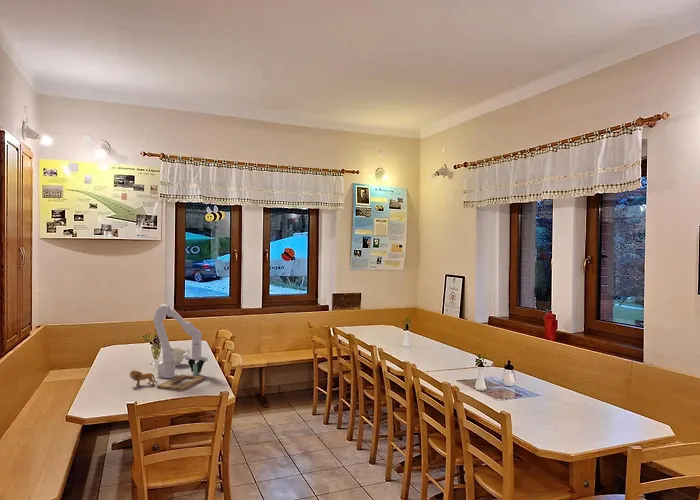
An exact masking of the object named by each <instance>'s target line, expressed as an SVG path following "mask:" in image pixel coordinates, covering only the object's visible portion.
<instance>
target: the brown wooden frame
mask: <svg viewBox="0 0 700 500" xmlns="http://www.w3.org/2000/svg"><path fill="white" fill-rule="evenodd" d="M185 379H188V380H186V381H184V382H182V381H183V380H185ZM189 379H190V380H189ZM205 380H206V376H201V375H199V376H193V374H180V375H177V376H175V377H172V378H170V379H168V380H166V381H164V382H162V383H159V384H158V385H156V388H157V389H160V388H161V390H162V389H163V390H170V391H177V390H180V391H179V392H183V391H185V390H187V389H190V388H191V387H193V386H195V385H197V384H199V383H201V382H203V381H205ZM181 382H182V383H181ZM177 384H178V385H177Z"/></svg>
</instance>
